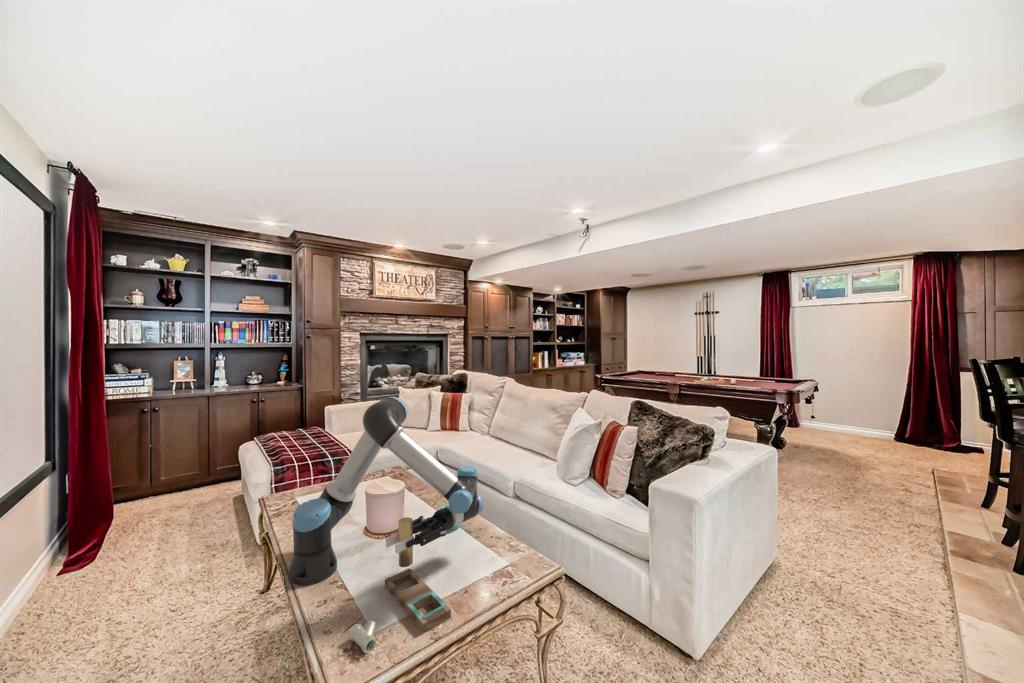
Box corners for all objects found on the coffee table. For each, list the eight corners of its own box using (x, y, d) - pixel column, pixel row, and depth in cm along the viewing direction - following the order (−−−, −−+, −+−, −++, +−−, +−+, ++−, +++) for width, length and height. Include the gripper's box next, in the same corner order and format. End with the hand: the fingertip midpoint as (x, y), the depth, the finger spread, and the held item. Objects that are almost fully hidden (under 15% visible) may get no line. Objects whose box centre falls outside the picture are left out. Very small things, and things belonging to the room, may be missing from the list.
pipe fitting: (370, 628, 113) (348, 641, 108) (371, 614, 113) (349, 626, 108) (387, 642, 108) (364, 656, 103) (387, 628, 108) (365, 641, 103)
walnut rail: (384, 586, 130) (384, 578, 130) (410, 575, 136) (410, 567, 136) (423, 633, 111) (423, 623, 111) (450, 617, 117) (450, 608, 116)
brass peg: (396, 562, 129) (396, 520, 128) (408, 557, 131) (408, 516, 131) (402, 568, 125) (402, 525, 125) (415, 563, 128) (415, 521, 128)
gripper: (464, 536, 137) (408, 568, 119) (431, 520, 148) (375, 547, 129) (464, 515, 136) (408, 544, 118) (431, 500, 147) (375, 525, 129)
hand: (391, 545), depth 124 cm, fingers closed on brass peg, 4 cm apart
